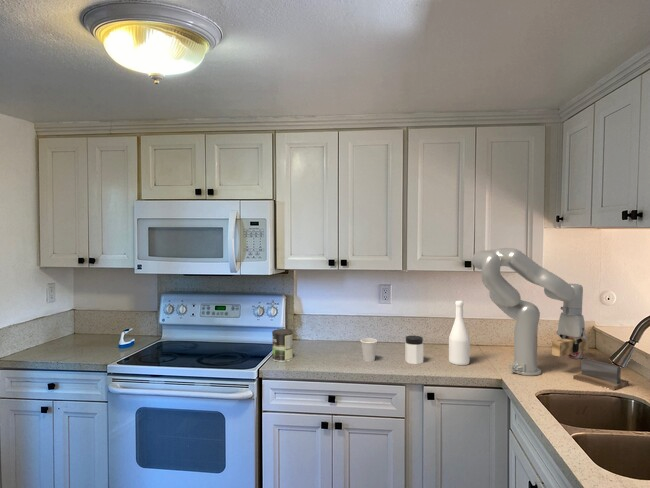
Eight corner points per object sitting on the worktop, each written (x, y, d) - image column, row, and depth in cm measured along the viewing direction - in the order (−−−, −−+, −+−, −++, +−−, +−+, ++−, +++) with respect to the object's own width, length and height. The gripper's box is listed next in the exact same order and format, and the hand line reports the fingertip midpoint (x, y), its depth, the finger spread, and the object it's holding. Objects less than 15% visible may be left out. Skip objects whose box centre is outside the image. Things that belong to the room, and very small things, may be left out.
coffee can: (274, 363, 212) (274, 334, 211) (270, 357, 222) (270, 329, 221) (295, 360, 215) (295, 332, 215) (290, 355, 225) (290, 328, 224)
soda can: (585, 359, 214) (586, 335, 214) (570, 359, 215) (570, 334, 215) (580, 355, 221) (580, 332, 221) (565, 355, 222) (565, 331, 222)
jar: (424, 364, 208) (424, 339, 208) (408, 364, 208) (408, 339, 207) (420, 359, 217) (420, 335, 217) (403, 359, 217) (403, 335, 216)
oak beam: (559, 356, 191) (560, 343, 191) (551, 354, 194) (552, 341, 193) (588, 349, 203) (589, 337, 203) (581, 348, 206) (581, 335, 206)
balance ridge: (613, 390, 173) (614, 370, 173) (573, 378, 186) (573, 360, 186) (628, 384, 179) (628, 365, 179) (588, 374, 193) (588, 356, 193)
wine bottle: (444, 361, 212) (444, 300, 211) (458, 358, 217) (458, 298, 216) (459, 367, 204) (459, 303, 203) (473, 363, 208) (474, 301, 208)
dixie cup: (369, 356, 221) (369, 337, 221) (380, 360, 214) (380, 340, 214) (356, 359, 216) (356, 339, 216) (368, 363, 210) (368, 343, 209)
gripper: (550, 308, 203) (548, 347, 203) (586, 314, 189) (585, 356, 189) (559, 307, 207) (557, 345, 207) (595, 313, 193) (594, 354, 193)
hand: (570, 350), depth 198 cm, fingers closed on oak beam, 3 cm apart
